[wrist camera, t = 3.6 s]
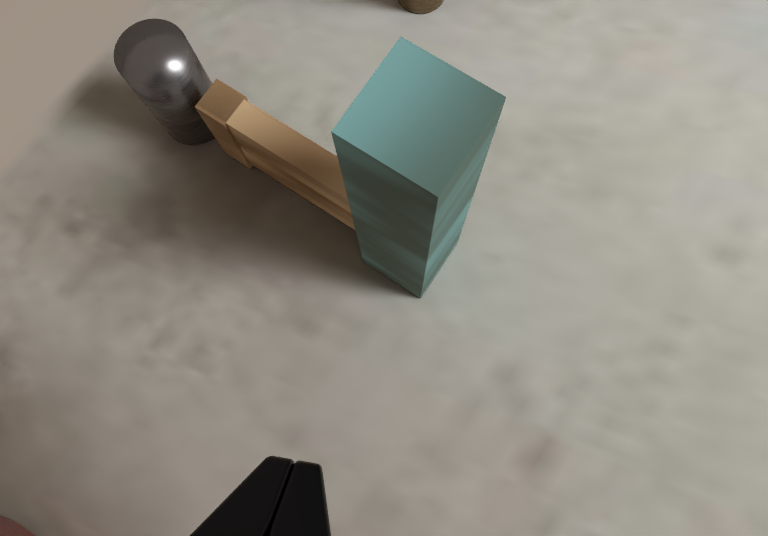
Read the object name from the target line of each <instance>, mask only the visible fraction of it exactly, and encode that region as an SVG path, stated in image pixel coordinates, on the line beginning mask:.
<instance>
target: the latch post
mask: <svg viewBox="0 0 768 536" xmlns="http://www.w3.org/2000/svg"><path fill="white" fill-rule="evenodd" d="M398 1H399V3H400V4H401V5H402V7H404V8H405V9H406V10H408V11H410V12H413V13H417V14H424V13H429V12H432V11H434V10H435V9H437V8H438V7H439V6H440V5H441V4H442V2H443V1H444V0H398Z"/></svg>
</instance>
